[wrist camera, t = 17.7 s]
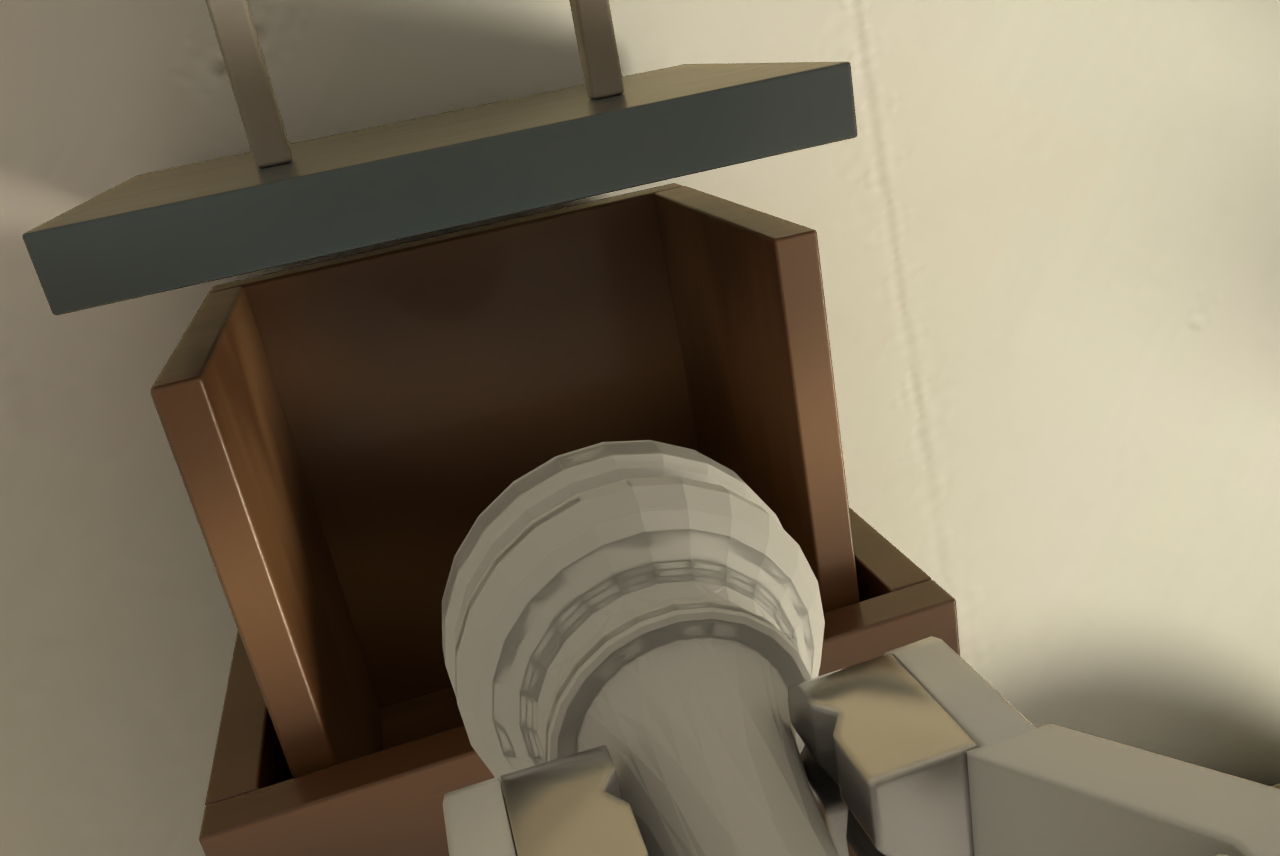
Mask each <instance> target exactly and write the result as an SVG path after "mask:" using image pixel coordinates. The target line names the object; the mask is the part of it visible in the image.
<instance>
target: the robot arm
mask: <svg viewBox="0 0 1280 856" xmlns="http://www.w3.org/2000/svg"><path fill="white" fill-rule="evenodd" d="M788 707H789V715H790V722H791V724H792V726H793V727H794V729H795V730H796V732H797V733H798V735H799V736H800V738H801V739H802V741H803V742H804V744H805V746H804V748H803V750H802V752H801V754H800V756H801V759H802V763H803V766H804V769H805V772H806V776H807V779H808V782H809V785H810V788H811V790H812V792H813V795H814V797H815V799H816V802H817V804H818V807H819V809H820V811H821V814H822V816H823V819H824V821H825V823H826V826H827V828H828V831H829V833H830V835H831V838H832V840H833V842H834V845H835V847H836V850H837V852H838V854H839V856H1280V789H1278V788H1275V787H1271V786H1268V785H1264V784H1261V783H1257V782H1254V781H1251V780H1247V779H1244V778H1240V777H1237V776H1233V775H1230V774H1226V773H1223V772H1219V771H1216V770H1212V769H1209V768H1205V767H1202V766H1198V765H1195V764H1191V763H1188V762H1184V761H1181V760H1177V759H1174V758H1171V757H1167V756H1164V755H1160V754H1157V753H1153V752H1150V751H1146V750H1143V749H1139V748H1136V747H1132V746H1129V745H1125V744H1122V743H1118V742H1115V741H1111V740H1108V739H1104V738H1101V737H1097V736H1094V735H1090V734H1087V733H1084V732H1080V731H1077V730H1073V729H1070V728H1066V727H1063V726H1059V725H1056V724H1052V723H1049V724H1046V725H1043V726H1040V727H1037V728H1036V727H1035V726H1034V725H1033V724H1032V723H1031V722H1030V721H1028V720H1027V719H1026V718H1025V717H1024V716H1023V715H1022V714H1021V713H1020V712H1019V711H1018V710H1017V709H1016V708H1015V707H1013V706H1012V705H1011V704H1010V703H1009V702H1008V701H1007V700H1006V699H1005V698H1004V697H1003V696H1002V695H1001V694H1000V693H998V692H997V691H996V690H995V689H994V688H993V687H992V686H991V685H990V684H989V683H988V682H987V681H986V680H985V679H983V678H982V677H981V676H980V675H979V674H978V673H977V672H976V671H975V670H974V669H973V668H972V667H971V666H970V665H969V664H967V663H966V662H965V661H964V660H963V659H962V658H961V657H960V656H959V655H958V654H957V653H956V652H955V651H954V650H952V649H951V648H950V647H949V646H948V645H947V644H946V643H945V642H944V641H943V640H942V639H939V638H936V637H932V636H931V637H928V638H925V639H922V640H919V641H917V642H914V643H911V644H908V645H905V646H902V647H900V648H897V649H894V650H891V651H888V652H886V653H885V654H884V655H883V656H879V657H876V658H873V659H870V660H867V661H864V662H861V663H858V664H855V665H852V666H849V667H846V668H843V669H840V670H837V671H834V672H831V673H828V674H824V675H821V676H818V677H815V678H812V679H809V680H806V681H803V682H800V683H797V684H794V685H791V686H788ZM500 778H501V782H500V779H498V778H492V779H489V780H486V781H483V782H480V783H477V784H473V785H470V786H467V787H464V788H461V789H458V790H454V791H451V792H448V793H445V794H444V800H443V812H444V819H445V827H446V834H447V842H448V849H449V856H649V855H648V852H647V849H646V847H645V844H644V841H643V839H642V836H641V833H640V831H639V828H638V825H637V823H636V820H635V817H634V815H633V812H632V809H631V807H630V804H629V803H628V802H626V801H624V800H623V797H622V793H621V789H620V784H619V780H618V776H617V772H616V768H615V766H614V763H613V761H612V758H611V756H610V753H609V751H608V749H607V747H606V745H602V746H598V747H595V748H592V749H588V750H585V751H582V752H578V753H575V754H572V755H568V756H565V757H562V758H558V759H555V760H552V761H548V762H545V763H542V764H538V765H535V766H531V767H528V768H525V769H521V770H518V771H515V772H511V773H508V774H505V775H501V776H500ZM501 784H502V785H501Z"/></svg>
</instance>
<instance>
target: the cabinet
mask: <svg viewBox="0 0 1280 856" xmlns="http://www.w3.org/2000/svg"><path fill="white" fill-rule="evenodd" d="M849 514H850V522H851V531H852V539H853V548H854V556H855V565H856V573H857V582H858V591H859V599H860V602H858V603H855V604H852V605H848V606H845V607H842V608H839V609H836V610H832V611H829V612H826V613H823V614H824V620H825V627H824V636H823V646H822V655H821V664H820V669H819V674H818V676H821V675H824V674H828V673H831V672H834V671H837V670H840V669H843V668H846V667H849V666H852V665H855V664H858V663H861V662H864V661H867V660H870V659H873V658H876V657H879V656H883V655H884V654H885V653H886V652H888V651H891V650H894V649H897V648H900V647H902V646H905V645H908V644H911V643H914V642H917V641H919V640H922V639H925V638H928V637H931V636H932V637H936V638H939V639H942V640H943V641H944V642H945V643H946V644H947V645H948V646H949V647H950V648H951V649H952V650H954V651H955V652H956V653H957V654H958V655H959V656H960V649H959V637H958V624H957V611H956V601H955V599H954V598H953V597H952V596H951V595H949V594H948V593H947V592H946V591H945V590H944V589H943V588H941V587H940V586H939V585H938V584H937V583H936V582H934V581H933V580H931V578H930V577H929V576H928V575H927V574H926V573H925V572H923V571H922V570H921V569H920V568H919V567H918V566H916V565H915V564H914V563H913V562H912V561H911V560H910V559H908V558H907V557H906V556H905V555H904V554H903V553H901V552H900V551H899V550H898V549H897V548H896V547H894V546H893V545H892V544H891V543H890V542H889V541H888V540H886V539H885V538H884V537H883V536H882V535H881V534H879V533H878V532H877V531H876V530H875V529H874V528H873V527H871V526H870V525H869V524H868V523H867V522H866V521H864V520H863V519H862V518H861V517H860V516H859V515H857V514H856V513H855V512H854V511H853V510H852V509H851V508H849ZM492 778H495V777H494V775H493V774H492V773H491V771H490V770H489V769H488V767H487V766H486V765H485V763H484V762H483V761H482V759H481V758H480V757H479V755H478V754H477V753H476V751H475V750H474V749H473V747H472V746H471V744H470V741H469V738H468V735H467V732H466V729H465V726H464V725H463V726H459V727H456V728H453V729H450V730H447V731H443V732H440V733H437V734H434V735H430V736H427V737H424V738H421V739H418V740H414V741H411V742H408V743H405V744H402V745H398V746H395V747H392V748H389V749H385V750H382V751H379V752H376V753H373V754H369V755H366V756H363V757H360V758H357V759H353V760H350V761H347V762H344V763H340V764H337V765H334V766H331V767H328V768H324V769H321V770H318V771H315V772H312V773H308V774H305V775H302V776H299V777H295V778H293V777H292V774H291V771H290V769H289V766H288V763H287V761H286V758H285V755H284V752H283V750H282V747H281V744H280V742H279V739H278V736H277V734H276V731H275V728H274V725H273V723H272V720H271V717H270V715H269V712H268V709H267V707H266V704H265V701H264V698H263V696H262V693H261V690H260V688H259V685H258V682H257V679H256V677H255V674H254V671H253V669H252V666H251V663H250V661H249V658H248V655H247V652H246V650H245V647H244V644H243V642H242V639H241V636H240V634H239V631H238V632H237V637H236V643H235V648H234V653H233V658H232V664H231V669H230V674H229V680H228V685H227V690H226V696H225V701H224V706H223V712H222V717H221V722H220V728H219V733H218V738H217V744H216V749H215V754H214V760H213V765H212V770H211V776H210V781H209V786H208V792H207V797H206V802H205V805H206V807H205V810H204V816H203V821H202V826H201V832H200V837H199V841H200V843H201V845H202V848H203V850H204V852H205V855H206V856H449V849H448V842H447V834H446V827H445V819H444V812H443V800H444V794H445V793H448V792H451V791H454V790H458V789H461V788H464V787H467V786H470V785H473V784H477V783H480V782H483V781H486V780H489V779H492ZM501 785H502V784H501Z"/></svg>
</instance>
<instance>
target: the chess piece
mask: <svg viewBox="0 0 1280 856" xmlns="http://www.w3.org/2000/svg"><path fill="white" fill-rule="evenodd" d="M824 627H825V620H824V614H823V609H822V603H821V597H820V591H819V585H818V581H817V579H816V577H815V575H814V573H813V571H812V569H811V567H810V565H809V563H808V562H807V560H806V558H805V556H804V554H803V552H802V550H801V548H800V546H799V544H798V543H797V542H796V541H795V540H794V539H793V538H792V537H791V536H790V535H789V534H788V533H787V532H786V531H785V530H784V529H783V527H782V525H781V523H780V521H779V519H778V517H777V516H776V514H775V513H774V512H773V511H772V510H771V509H770V508H769V507H768V506H767V505H766V504H765V503H764V502H763V501H762V500H761V499H760V498H759V496H758V495H757V494H756V493H755V492H754V491H753V490H752V489H751V488H750V487H749V486H748V485H747V484H746V483H745V482H744V481H743V480H742V479H741V478H740V477H739V476H738V475H737V474H736V473H735V472H734V471H732V470H730V469H728V468H727V467H725V466H723V465H721V464H719V463H717V462H716V461H714V460H712V459H710V458H708V457H706V456H705V455H703V454H701V453H699V452H697V451H695V450H693V449H689V448H684V447H679V446H675V445H670V444H666V443H661V442H657V441H652V440H637V441H615V442H601V443H598V444H595V445H591V446H588V447H585V448H581V449H578V450H575V451H572V452H568V453H565V454H562V455H558V456H556V457H554V458H552V459H550V460H549V461H547V462H545V463H544V464H542V465H540V466H539V467H537V468H535V469H534V470H532V471H530V472H529V473H527V474H525V475H523V476H522V477H520V478H518V479H517V480H515V481H513V482H512V483H511V484H510V485H509V486H508V487H507V488H506V489H505V490H504V491H503V492H502V493H501V494H500V495H499V496H498V497H497V498H496V499H495V500H494V501H493V502H492V503H491V504H490V505H489V506H488V507H487V508H486V509H485V510H484V511H483V512H482V513H481V514H480V515H479V516H478V518H477V519H476V521H475V523H474V524H473V526H472V528H471V529H470V531H469V533H468V534H467V536H466V538H465V539H464V541H463V543H462V544H461V546H460V548H459V549H458V551H457V553H456V554H455V556H454V559H453V563H452V566H451V570H450V573H449V577H448V581H447V584H446V588H445V591H444V595H443V599H442V648H443V654H444V660H445V665H446V669H447V672H448V675H449V678H450V681H451V684H452V687H453V690H454V693H455V696H456V700H457V705H458V708H459V711H460V714H461V717H462V720H463V723H464V726H465V729H466V732H467V735H468V738H469V741H470V744H471V746H472V747H473V749H474V750H475V751H476V753H477V754H478V755H479V757H480V758H481V759H482V761H483V762H484V763H485V765H486V766H487V767H488V769H489V770H490V771H491V773H492V774H493V775H494V777H495V778H498V779H500V782H501V778H500V776H501V775H505V774H508V773H511V772H515V771H518V770H521V769H525V768H528V767H531V766H535V765H538V764H542V763H545V762H548V761H552V760H555V759H558V758H562V757H565V756H568V755H572V754H575V753H578V752H582V751H585V750H588V749H592V748H595V747H598V746H602V745H606V747H607V749H608V751H609V753H610V756H611V758H612V761H613V763H614V766H615V768H616V772H617V776H618V780H619V784H620V789H621V793H622V797H623V800H624V801H626V802H628V803H629V804H630V807H631V809H632V812H633V815H634V817H635V820H636V823H637V825H638V828H639V831H640V833H641V836H642V839H643V841H644V844H645V847H646V849H647V852H648V855H649V856H839V854H838V852H837V850H836V847H835V845H834V842H833V840H832V838H831V835H830V833H829V831H828V828H827V826H826V823H825V821H824V819H823V816H822V814H821V811H820V809H819V807H818V804H817V802H816V799H815V797H814V795H813V792H812V790H811V788H810V785H809V782H808V779H807V776H806V772H805V769H804V766H803V763H802V759H801V756H800V754H801V752H802V750H803V748H804V746H805V744H804V742H803V741H802V739H801V738H800V736H799V735H798V733H797V732H796V730H795V729H794V727H793V726H792V724H791V722H790V715H789V707H788V686H791V685H794V684H797V683H800V682H803V681H806V680H809V679H812V678H815V677H818V674H819V669H820V664H821V655H822V646H823V636H824Z"/></svg>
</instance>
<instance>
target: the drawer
mask: <svg viewBox="0 0 1280 856" xmlns="http://www.w3.org/2000/svg"><path fill="white" fill-rule="evenodd" d="M569 1H570V6H571V11H572V17H573V22H574V27H575V33H576V38H577V43H578V49H579V54H580V59H581V65H582V70H583V75H584V80H585V85H580V86H575V87H570V88H565V89H560V90H556V91H551V92H546V93H541V94H536V95H531V96H526V97H521V98H516V99H511V100H506V101H501V102H496V103H491V104H486V105H481V106H477V107H472V108H467V109H462V110H457V111H452V112H447V113H442V114H437V115H432V116H427V117H422V118H417V119H412V120H407V121H403V122H398V123H393V124H388V125H383V126H378V127H373V128H368V129H363V130H358V131H353V132H348V133H343V134H338V135H333V136H329V137H324V138H319V139H314V140H309V141H304V142H299V143H294V144H289V142H288V139H287V135H286V132H285V129H284V125H283V122H282V118H281V115H280V111H279V108H278V105H277V101H276V98H275V94H274V91H273V87H272V84H271V81H270V77H269V74H268V70H267V67H266V63H265V60H264V57H263V53H262V50H261V46H260V43H259V40H258V36H257V33H256V29H255V26H254V22H253V19H252V16H251V12H250V9H249V5H248V2H247V0H206V4H207V7H208V10H209V13H210V17H211V20H212V23H213V27H214V30H215V33H216V36H217V40H218V43H219V46H220V49H221V53H222V56H223V59H224V63H225V66H226V69H227V72H228V76H229V79H230V82H231V85H232V89H233V92H234V95H235V99H236V102H237V105H238V108H239V112H240V115H241V118H242V121H243V125H244V128H245V131H246V135H247V138H248V141H249V144H250V148H251V151H252V152H250V153H245V154H240V155H235V156H230V157H225V158H220V159H215V160H210V161H205V162H200V163H195V164H190V165H185V166H180V167H176V168H171V169H166V170H161V171H156V172H151V173H146V174H141V175H137V176H135V177H133V178H131V179H129V180H127V181H125V182H123V183H122V184H120V185H118V186H116V187H114V188H112V189H110V190H108V191H106V192H104V193H102V194H100V195H98V196H96V197H94V198H92V199H90V200H88V201H86V202H85V203H83V204H81V205H79V206H77V207H75V208H73V209H71V210H69V211H67V212H65V213H63V214H61V215H59V216H57V217H55V218H53V219H51V220H49V221H47V222H46V223H44V224H42V225H40V226H38V227H36V228H34V229H32V230H30V231H28V232H26V233H24V234H23V240H24V242H25V245H26V247H27V250H28V253H29V255H30V258H31V260H32V263H33V265H34V268H35V270H36V273H37V275H38V278H39V280H40V283H41V285H42V288H43V291H44V293H45V296H46V298H47V301H48V303H49V306H50V308H51V311H52V313H53V314H54V315H61V314H66V313H70V312H75V311H79V310H84V309H88V308H93V307H97V306H102V305H106V304H111V303H115V302H120V301H124V300H129V299H133V298H138V297H142V296H147V295H151V294H156V293H160V292H165V291H169V290H174V289H178V288H183V287H187V286H191V285H196V284H200V283H205V282H209V281H214V280H218V279H223V278H227V277H232V276H236V275H241V274H245V273H250V272H254V271H259V270H263V269H268V268H272V267H277V266H281V265H286V264H290V263H295V262H299V261H304V260H308V259H313V258H317V257H322V256H326V255H330V254H335V253H339V252H344V251H348V250H353V249H357V248H362V247H366V246H371V245H375V244H380V243H384V242H389V241H393V240H398V239H402V238H407V237H411V236H416V235H420V234H425V233H429V232H434V231H438V230H443V229H447V228H452V227H456V226H461V225H465V224H470V223H474V222H478V221H483V220H487V219H492V218H496V217H501V216H505V215H510V214H514V213H519V212H523V211H528V210H532V209H537V208H541V207H546V206H550V205H555V204H559V203H564V202H568V201H573V200H577V199H582V198H586V197H591V196H595V195H600V194H604V193H609V192H613V191H617V190H622V189H626V188H631V187H635V186H640V185H644V184H649V183H653V182H658V181H662V180H667V179H671V178H676V177H680V176H685V175H689V174H694V173H698V172H703V171H707V170H712V169H716V168H721V167H725V166H730V165H734V164H739V163H743V162H748V161H752V160H757V159H761V158H765V157H770V156H774V155H779V154H783V153H788V152H792V151H797V150H801V149H806V148H810V147H815V146H819V145H824V144H828V143H833V142H837V141H842V140H846V139H851V138H855V137H856V136H857V126H856V116H855V106H854V96H853V86H852V76H851V66H850V63H849V62H801V63H739V64H684V65H679V66H674V67H669V68H664V69H659V70H654V71H649V72H644V73H639V74H634V75H630V76H625V77H622V74H621V69H620V63H619V57H618V52H617V46H616V40H615V34H614V29H613V23H612V17H611V12H610V6H609V0H569ZM151 396H152V398H153V401H154V404H155V407H156V409H157V412H158V415H159V417H160V420H161V423H162V425H163V428H164V431H165V434H166V436H167V439H168V442H169V444H170V447H171V450H172V452H173V455H174V458H175V461H176V463H177V466H178V469H179V471H180V474H181V477H182V479H183V482H184V485H185V488H186V490H187V493H188V496H189V498H190V501H191V504H192V507H193V509H194V512H195V515H196V517H197V520H198V523H199V525H200V528H201V531H202V534H203V536H204V539H205V542H206V544H207V547H208V550H209V552H210V555H211V558H212V561H213V563H214V566H215V569H216V571H217V574H218V577H219V579H220V582H221V585H222V588H223V590H224V593H225V596H226V598H227V601H228V604H229V607H230V609H231V612H232V615H233V617H234V620H235V623H236V625H237V628H238V631H239V634H240V636H241V639H242V642H243V644H244V647H245V650H246V652H247V655H248V658H249V661H250V663H251V666H252V669H253V671H254V674H255V677H256V679H257V682H258V685H259V688H260V690H261V693H262V696H263V698H264V701H265V704H266V707H267V709H268V712H269V715H270V717H271V720H272V723H273V725H274V728H275V731H276V734H277V736H278V739H279V742H280V744H281V747H282V750H283V752H284V755H285V758H286V761H287V763H288V766H289V769H290V771H291V774H292V777H293V778H295V777H299V776H302V775H305V774H308V773H312V772H315V771H318V770H321V769H324V768H328V767H331V766H334V765H337V764H340V763H344V762H347V761H350V760H353V759H357V758H360V757H363V756H366V755H369V754H373V753H376V752H379V751H382V750H385V749H389V748H392V747H395V746H398V745H402V744H405V743H408V742H411V741H414V740H418V739H421V738H424V737H427V736H430V735H434V734H437V733H440V732H443V731H447V730H450V729H453V728H456V727H459V726H463V725H464V723H463V720H462V717H461V714H460V711H459V708H458V705H457V700H456V696H455V693H454V690H453V687H452V684H451V681H450V678H449V675H448V672H447V669H446V665H445V660H444V654H443V648H442V599H443V595H444V591H445V588H446V584H447V581H448V577H449V573H450V570H451V566H452V563H453V559H454V556H455V554H456V553H457V551H458V549H459V548H460V546H461V544H462V543H463V541H464V539H465V538H466V536H467V534H468V533H469V531H470V529H471V528H472V526H473V524H474V523H475V521H476V519H477V518H478V516H479V515H480V514H481V513H482V512H483V511H484V510H485V509H486V508H487V507H488V506H489V505H490V504H491V503H492V502H493V501H494V500H495V499H496V498H497V497H498V496H499V495H500V494H501V493H502V492H503V491H504V490H505V489H506V488H507V487H508V486H509V485H510V484H511V483H512V482H513V481H515V480H517V479H518V478H520V477H522V476H523V475H525V474H527V473H529V472H530V471H532V470H534V469H535V468H537V467H539V466H540V465H542V464H544V463H545V462H547V461H549V460H550V459H552V458H554V457H556V456H558V455H562V454H565V453H568V452H572V451H575V450H578V449H581V448H585V447H588V446H591V445H595V444H598V443H601V442H615V441H637V440H652V441H657V442H661V443H666V444H670V445H675V446H679V447H684V448H689V449H693V450H695V451H697V452H699V453H701V454H703V455H705V456H706V457H708V458H710V459H712V460H714V461H716V462H717V463H719V464H721V465H723V466H725V467H727V468H728V469H730V470H732V471H734V472H735V473H736V474H737V475H738V476H739V477H740V478H741V479H742V480H743V481H744V482H745V483H746V484H747V485H748V486H749V487H750V488H751V489H752V490H753V491H754V492H755V493H756V494H757V495H758V496H759V498H760V499H761V500H762V501H763V502H764V503H765V504H766V505H767V506H768V507H769V508H770V509H771V510H772V511H773V512H774V513H775V514H776V516H777V517H778V519H779V521H780V523H781V525H782V527H783V529H784V530H785V531H786V532H787V533H788V534H789V535H790V536H791V537H792V538H793V539H794V540H795V541H796V542H797V543H798V544H799V546H800V548H801V550H802V552H803V554H804V556H805V558H806V560H807V562H808V563H809V565H810V567H811V569H812V571H813V573H814V575H815V577H816V579H817V581H818V585H819V591H820V597H821V603H822V609H823V613H826V612H829V611H832V610H836V609H839V608H842V607H845V606H848V605H852V604H855V603H858V602H860V599H859V591H858V582H857V573H856V565H855V556H854V548H853V539H852V531H851V522H850V514H849V505H848V497H847V488H846V479H845V471H844V462H843V454H842V445H841V437H840V428H839V420H838V411H837V402H836V394H835V385H834V377H833V368H832V360H831V351H830V343H829V334H828V326H827V317H826V308H825V300H824V291H823V283H822V274H821V266H820V257H819V249H818V240H817V232H816V230H813V229H810V228H807V227H804V226H801V225H798V224H795V223H792V222H789V221H787V220H784V219H781V218H778V217H775V216H772V215H769V214H766V213H763V212H760V211H757V210H754V209H751V208H748V207H745V206H742V205H739V204H736V203H734V202H731V201H728V200H725V199H722V198H719V197H716V196H713V195H710V194H707V193H704V192H701V191H698V190H695V189H692V188H689V187H686V186H681V185H679V184H675V183H672V184H668V185H663V186H659V187H655V188H650V189H646V190H641V191H637V192H632V193H628V194H623V195H619V196H614V197H610V198H605V199H601V200H596V201H592V202H588V203H583V204H579V205H574V206H570V207H565V208H561V209H556V210H552V211H547V212H543V213H538V214H534V215H529V216H525V217H521V218H516V219H512V220H507V221H503V222H498V223H494V224H489V225H485V226H480V227H476V228H471V229H467V230H463V231H458V232H454V233H449V234H445V235H440V236H436V237H431V238H427V239H422V240H418V241H413V242H409V243H404V244H400V245H396V246H391V247H387V248H382V249H378V250H373V251H369V252H364V253H360V254H355V255H351V256H346V257H342V258H337V259H333V260H329V261H324V262H320V263H315V264H311V265H306V266H302V267H297V268H293V269H288V270H284V271H279V272H275V273H271V274H266V275H262V276H257V277H253V278H248V279H244V280H239V281H235V282H230V283H226V284H221V285H217V286H214V287H213V288H212V289H211V290H210V292H209V294H208V295H207V297H206V298H205V300H204V302H203V303H202V305H201V307H200V308H199V310H198V312H197V313H196V315H195V317H194V318H193V320H192V322H191V323H190V325H189V327H188V328H187V330H186V332H185V333H184V335H183V337H182V338H181V340H180V342H179V343H178V345H177V347H176V348H175V350H174V352H173V353H172V355H171V357H170V358H169V360H168V362H167V363H166V365H165V367H164V368H163V370H162V372H161V373H160V375H159V377H158V378H157V380H156V382H155V383H154V385H153V387H152V388H151Z"/></svg>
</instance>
